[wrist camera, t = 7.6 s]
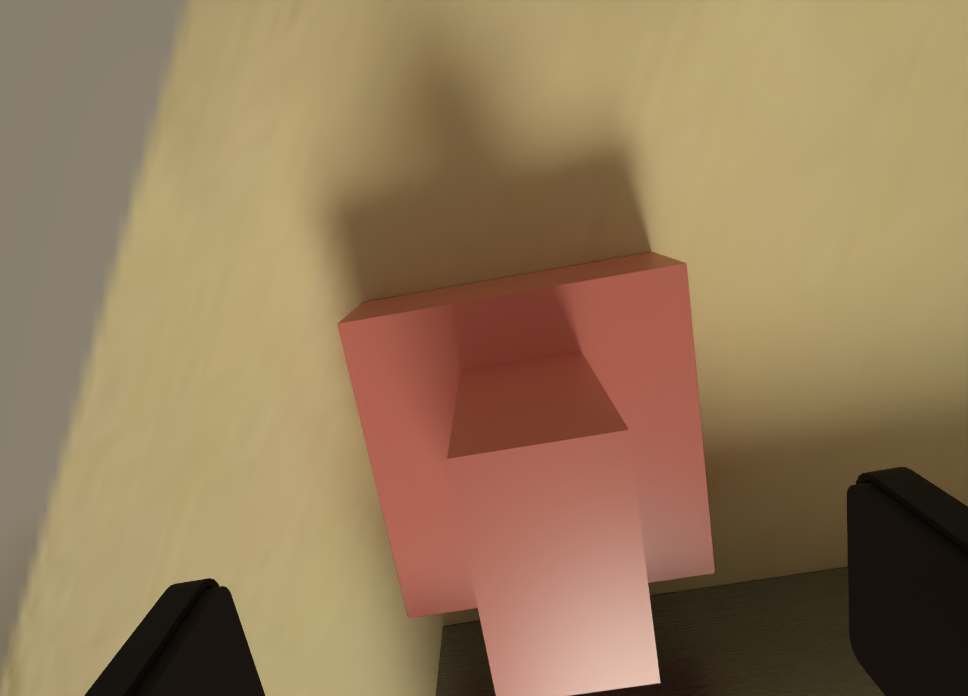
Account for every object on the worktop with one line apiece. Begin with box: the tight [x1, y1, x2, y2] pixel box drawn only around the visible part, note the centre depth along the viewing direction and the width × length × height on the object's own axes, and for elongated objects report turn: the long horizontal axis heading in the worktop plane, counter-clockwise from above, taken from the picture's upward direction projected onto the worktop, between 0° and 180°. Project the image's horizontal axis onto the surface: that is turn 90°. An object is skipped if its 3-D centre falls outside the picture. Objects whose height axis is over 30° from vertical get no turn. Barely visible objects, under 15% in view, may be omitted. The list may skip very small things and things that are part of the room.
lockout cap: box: [338, 252, 715, 696], centre depth 14 cm, size 8×8×8 cm
